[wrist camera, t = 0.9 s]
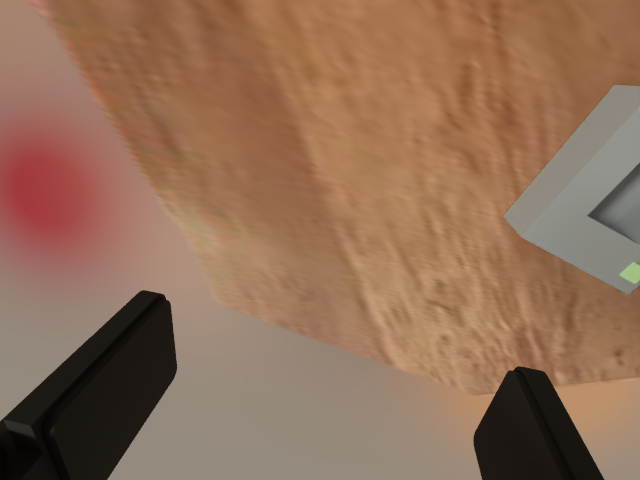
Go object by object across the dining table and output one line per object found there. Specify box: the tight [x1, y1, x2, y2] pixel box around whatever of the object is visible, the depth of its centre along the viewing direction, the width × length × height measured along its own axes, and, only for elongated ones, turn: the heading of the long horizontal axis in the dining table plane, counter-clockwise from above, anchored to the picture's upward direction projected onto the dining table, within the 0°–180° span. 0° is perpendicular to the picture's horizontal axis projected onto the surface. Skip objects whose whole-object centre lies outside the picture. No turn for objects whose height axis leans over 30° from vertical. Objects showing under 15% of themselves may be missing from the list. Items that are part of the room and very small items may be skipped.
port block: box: [503, 85, 640, 295], centre depth 31 cm, size 14×12×5 cm
